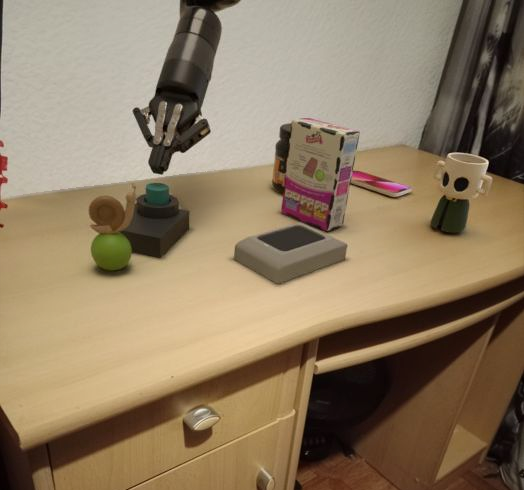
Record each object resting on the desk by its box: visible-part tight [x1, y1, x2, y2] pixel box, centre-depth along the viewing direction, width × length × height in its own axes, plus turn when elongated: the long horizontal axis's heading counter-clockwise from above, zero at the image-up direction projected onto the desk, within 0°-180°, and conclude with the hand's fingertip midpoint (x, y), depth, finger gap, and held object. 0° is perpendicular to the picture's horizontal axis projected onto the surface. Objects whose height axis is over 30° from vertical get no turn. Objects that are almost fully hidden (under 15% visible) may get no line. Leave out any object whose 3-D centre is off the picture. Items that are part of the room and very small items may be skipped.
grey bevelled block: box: [233, 221, 348, 285], centre depth 83 cm, size 10×4×15 cm
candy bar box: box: [280, 117, 361, 232], centre depth 94 cm, size 11×5×16 cm, turn 47°
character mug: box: [430, 152, 493, 234], centre depth 97 cm, size 11×7×13 cm, turn 42°
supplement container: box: [271, 122, 291, 195], centre depth 108 cm, size 10×10×12 cm
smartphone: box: [350, 170, 412, 198], centre depth 118 cm, size 7×1×15 cm
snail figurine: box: [88, 182, 138, 271], centre depth 73 cm, size 5×6×12 cm
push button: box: [145, 182, 170, 205], centre depth 85 cm, size 4×4×3 cm
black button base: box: [119, 193, 191, 259], centre depth 85 cm, size 13×9×5 cm
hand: (156, 171), depth 83 cm, fingers closed
